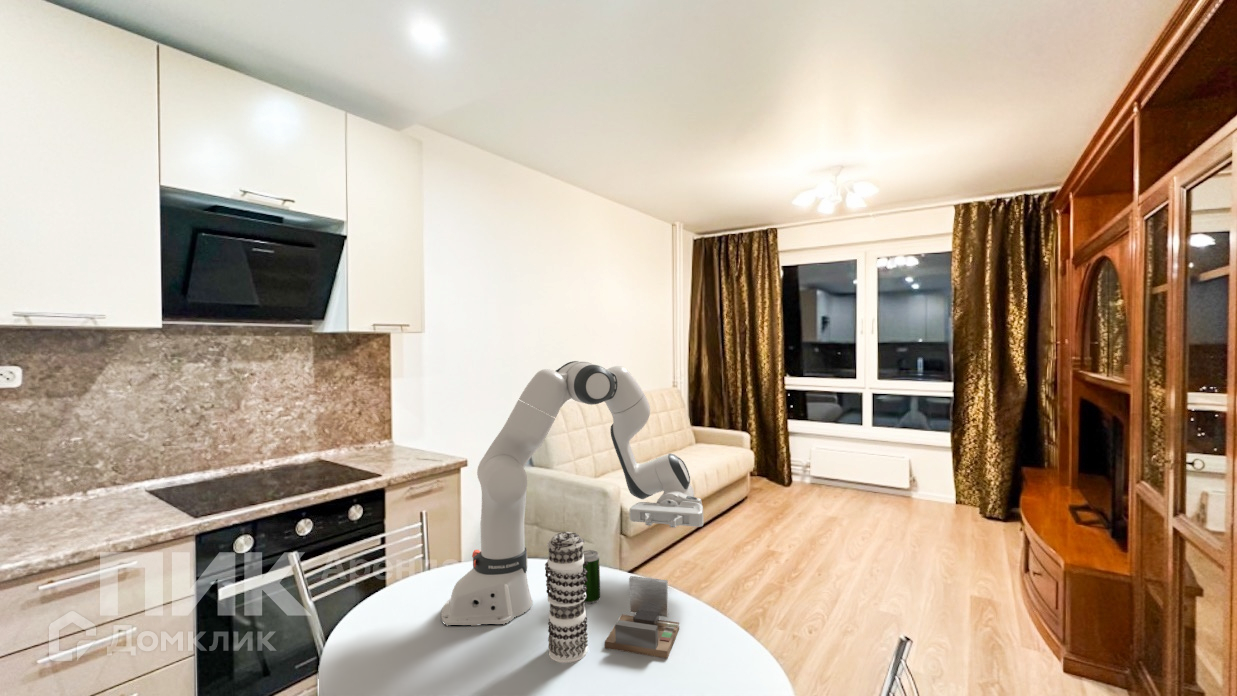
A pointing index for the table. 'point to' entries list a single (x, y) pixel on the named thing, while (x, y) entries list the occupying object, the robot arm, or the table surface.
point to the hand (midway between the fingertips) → (660, 523)
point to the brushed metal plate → (649, 600)
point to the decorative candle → (566, 598)
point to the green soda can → (592, 576)
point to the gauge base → (656, 653)
